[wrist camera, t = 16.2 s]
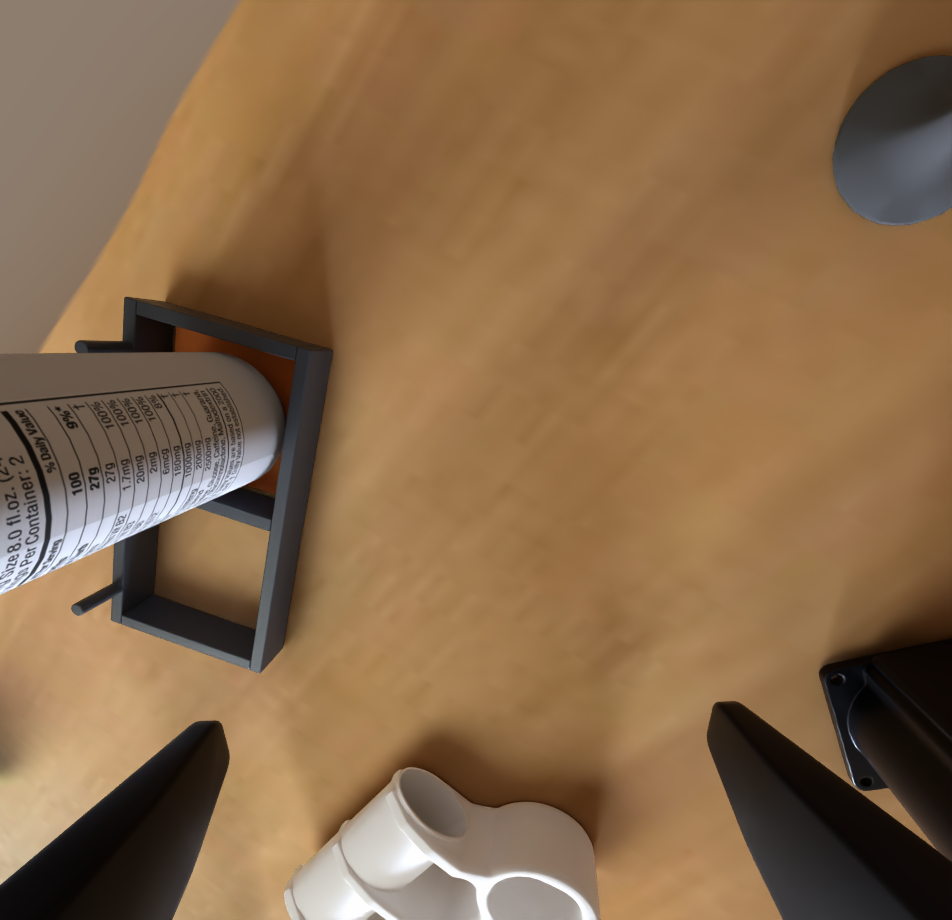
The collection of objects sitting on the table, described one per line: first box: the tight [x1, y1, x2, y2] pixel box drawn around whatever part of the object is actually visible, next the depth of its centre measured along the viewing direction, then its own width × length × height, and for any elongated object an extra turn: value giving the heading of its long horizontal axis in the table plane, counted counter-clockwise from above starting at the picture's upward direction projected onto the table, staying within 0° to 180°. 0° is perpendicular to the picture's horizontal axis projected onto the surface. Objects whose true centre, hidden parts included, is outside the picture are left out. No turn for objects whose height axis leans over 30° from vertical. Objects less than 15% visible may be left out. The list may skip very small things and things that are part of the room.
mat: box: [175, 326, 295, 495], centre depth 21 cm, size 7×7×1 cm
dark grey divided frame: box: [71, 297, 333, 673], centre depth 20 cm, size 8×16×4 cm, turn 165°
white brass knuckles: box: [284, 767, 600, 920], centre depth 25 cm, size 3×18×15 cm
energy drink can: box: [0, 352, 286, 594], centre depth 14 cm, size 6×6×15 cm
